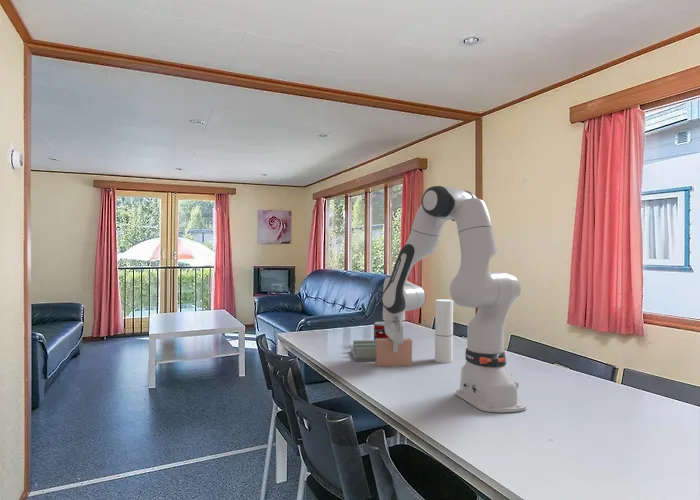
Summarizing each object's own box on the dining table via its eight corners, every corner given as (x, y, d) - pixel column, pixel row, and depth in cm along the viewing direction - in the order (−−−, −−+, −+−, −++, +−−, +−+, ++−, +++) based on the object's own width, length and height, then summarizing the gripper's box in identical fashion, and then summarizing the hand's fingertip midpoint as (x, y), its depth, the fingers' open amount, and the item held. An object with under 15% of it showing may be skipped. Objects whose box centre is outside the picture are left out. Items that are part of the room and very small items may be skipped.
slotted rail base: (407, 360, 176) (408, 348, 176) (354, 361, 174) (355, 349, 174) (399, 350, 193) (399, 339, 193) (350, 351, 191) (350, 340, 191)
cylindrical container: (451, 358, 181) (451, 299, 180) (453, 363, 174) (454, 301, 173) (434, 358, 181) (434, 299, 181) (435, 362, 174) (436, 301, 174)
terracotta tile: (411, 365, 170) (412, 340, 170) (376, 366, 169) (377, 340, 168) (409, 362, 174) (409, 338, 174) (375, 363, 173) (375, 338, 172)
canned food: (371, 345, 204) (371, 322, 204) (385, 343, 207) (385, 321, 207) (378, 348, 197) (379, 325, 197) (393, 347, 200) (394, 323, 200)
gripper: (407, 319, 161) (407, 356, 161) (396, 311, 181) (396, 344, 182) (391, 320, 160) (390, 356, 161) (381, 311, 181) (381, 344, 181)
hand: (393, 350), depth 171 cm, fingers closed on terracotta tile, 4 cm apart
